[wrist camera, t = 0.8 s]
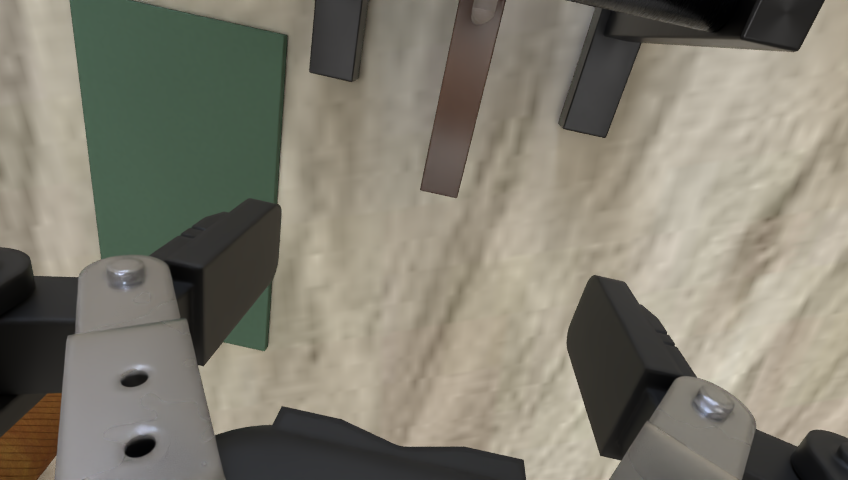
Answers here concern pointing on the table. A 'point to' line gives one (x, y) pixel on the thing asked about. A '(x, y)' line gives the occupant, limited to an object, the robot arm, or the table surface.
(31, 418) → the disposable coffee cup
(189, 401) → the robot arm
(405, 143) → the table surface
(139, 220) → the mat
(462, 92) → the brown bar with hook
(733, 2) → the rail stand
